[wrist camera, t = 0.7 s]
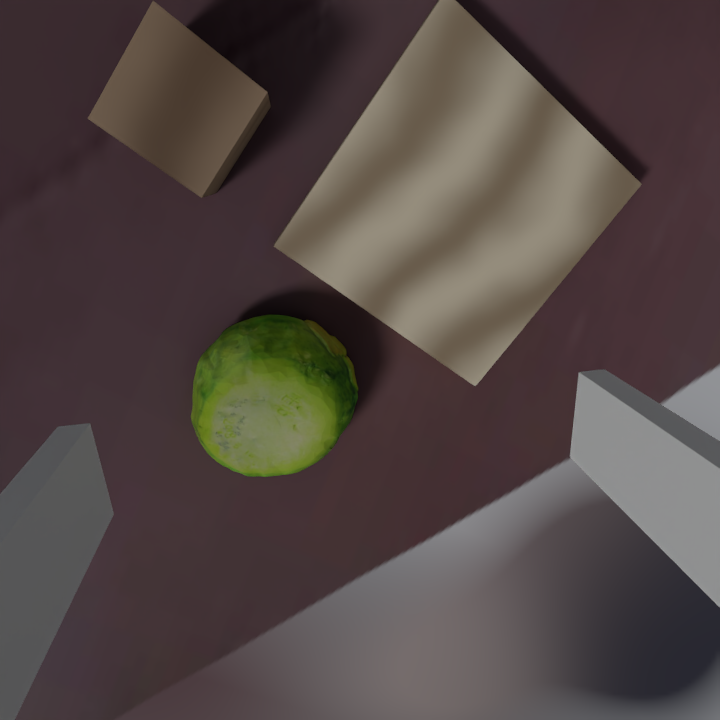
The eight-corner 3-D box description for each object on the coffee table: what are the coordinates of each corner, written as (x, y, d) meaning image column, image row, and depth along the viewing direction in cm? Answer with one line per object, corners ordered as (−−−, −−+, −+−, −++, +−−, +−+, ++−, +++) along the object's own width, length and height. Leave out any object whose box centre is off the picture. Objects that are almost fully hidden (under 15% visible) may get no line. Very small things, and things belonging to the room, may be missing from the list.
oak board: (274, 243, 33) (273, 246, 32) (440, -3, 30) (446, -10, 29) (469, 380, 38) (475, 386, 37) (630, 183, 35) (641, 184, 34)
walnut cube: (124, 128, 30) (87, 118, 24) (179, 33, 29) (153, 0, 23) (216, 193, 32) (201, 197, 26) (271, 106, 31) (267, 92, 25)
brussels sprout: (265, 278, 34) (262, 295, 29) (384, 377, 38) (397, 407, 33) (159, 400, 36) (139, 435, 31) (280, 484, 40) (279, 526, 35)
